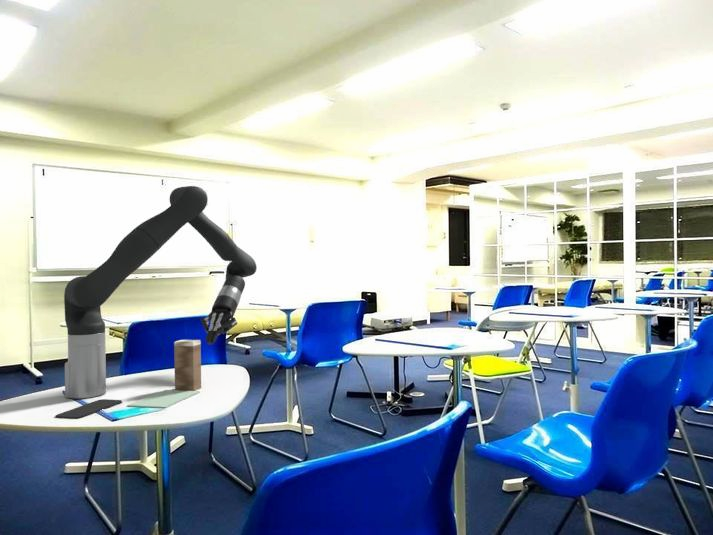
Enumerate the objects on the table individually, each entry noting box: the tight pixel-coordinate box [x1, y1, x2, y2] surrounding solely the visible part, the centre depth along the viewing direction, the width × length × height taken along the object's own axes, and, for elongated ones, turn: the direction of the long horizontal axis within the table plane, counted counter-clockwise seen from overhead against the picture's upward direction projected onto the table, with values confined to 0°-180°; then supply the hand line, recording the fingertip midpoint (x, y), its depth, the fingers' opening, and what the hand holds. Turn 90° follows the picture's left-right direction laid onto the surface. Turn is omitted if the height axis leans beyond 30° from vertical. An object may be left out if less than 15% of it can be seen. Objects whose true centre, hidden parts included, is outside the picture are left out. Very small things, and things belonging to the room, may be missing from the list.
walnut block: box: [173, 339, 202, 391], centre depth 140 cm, size 6×4×14 cm, turn 78°
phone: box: [54, 398, 123, 420], centre depth 120 cm, size 7×1×15 cm
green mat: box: [126, 389, 201, 409], centre depth 129 cm, size 11×16×1 cm
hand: (209, 342), depth 152 cm, fingers closed
